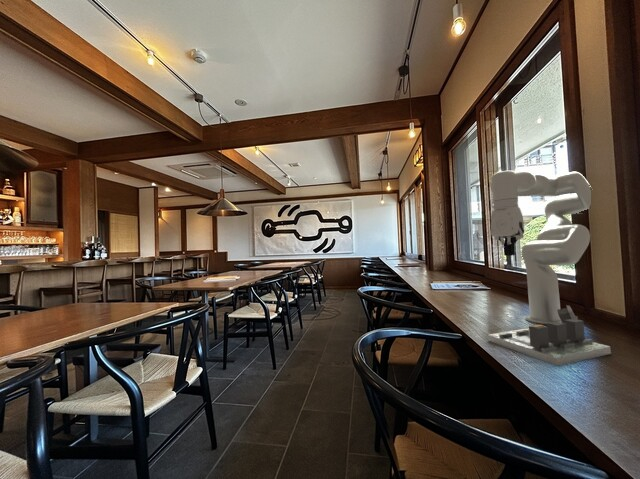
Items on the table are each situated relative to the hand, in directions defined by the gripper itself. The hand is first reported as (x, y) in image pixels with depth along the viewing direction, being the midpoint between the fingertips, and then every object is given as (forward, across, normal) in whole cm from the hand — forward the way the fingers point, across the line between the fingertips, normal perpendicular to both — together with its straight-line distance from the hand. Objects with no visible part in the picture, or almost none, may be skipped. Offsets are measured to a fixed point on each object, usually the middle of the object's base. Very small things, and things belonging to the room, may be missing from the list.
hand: (509, 255), depth 101 cm
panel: (+27, +15, -7) cm, 32 cm away
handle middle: (+25, +19, -7) cm, 32 cm away
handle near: (+25, +19, 0) cm, 31 cm away
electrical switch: (+27, +11, +11) cm, 32 cm away
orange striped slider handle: (+25, +19, -14) cm, 34 cm away
